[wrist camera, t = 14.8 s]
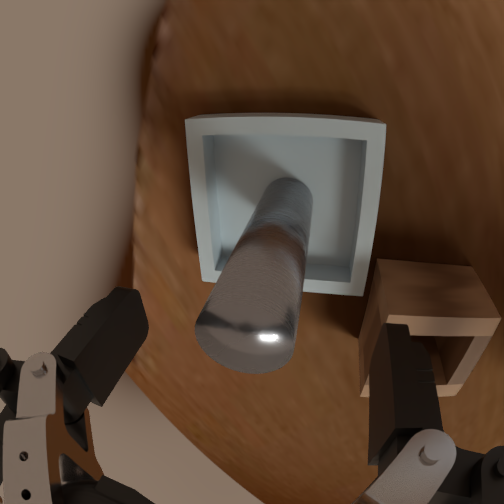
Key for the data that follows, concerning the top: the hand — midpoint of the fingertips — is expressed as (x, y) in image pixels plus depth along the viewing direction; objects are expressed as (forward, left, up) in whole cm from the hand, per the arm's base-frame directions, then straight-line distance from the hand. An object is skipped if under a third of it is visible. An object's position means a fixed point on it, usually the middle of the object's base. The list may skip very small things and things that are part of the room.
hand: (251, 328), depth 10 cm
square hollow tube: (-10, +8, -12) cm, 18 cm away
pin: (0, 0, -12) cm, 12 cm away
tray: (0, 0, -12) cm, 12 cm away
